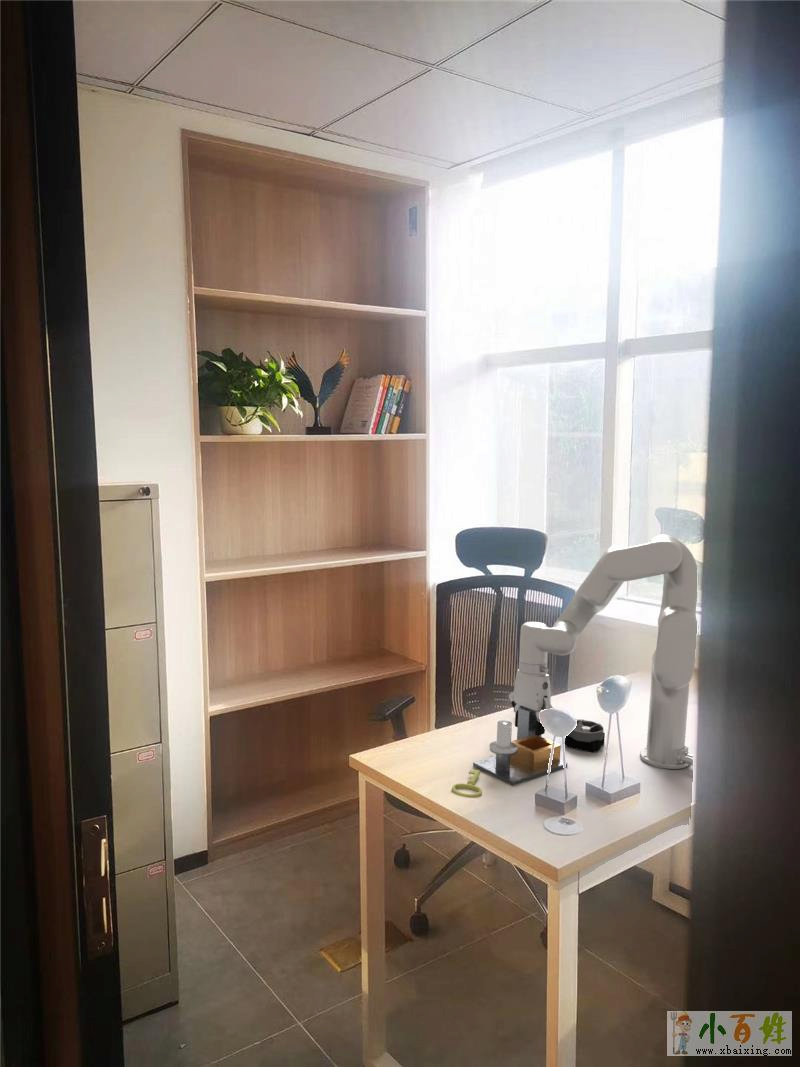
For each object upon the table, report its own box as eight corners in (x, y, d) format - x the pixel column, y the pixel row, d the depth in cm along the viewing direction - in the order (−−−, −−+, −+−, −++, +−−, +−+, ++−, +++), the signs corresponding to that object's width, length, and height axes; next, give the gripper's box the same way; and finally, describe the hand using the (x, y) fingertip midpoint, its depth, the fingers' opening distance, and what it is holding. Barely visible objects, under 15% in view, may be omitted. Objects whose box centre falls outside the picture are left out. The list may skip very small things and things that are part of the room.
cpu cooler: (598, 735, 218) (562, 727, 223) (597, 755, 219) (560, 747, 224) (608, 723, 227) (572, 716, 232) (607, 743, 228) (571, 735, 233)
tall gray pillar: (541, 742, 226) (542, 708, 225) (527, 747, 223) (529, 711, 221) (530, 738, 229) (532, 704, 228) (516, 742, 226) (518, 707, 225)
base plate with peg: (567, 766, 210) (569, 718, 209) (512, 786, 198) (515, 734, 196) (527, 749, 221) (529, 702, 220) (473, 766, 209) (475, 717, 207)
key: (480, 777, 204) (480, 769, 203) (482, 799, 191) (482, 791, 191) (451, 775, 204) (451, 767, 204) (451, 798, 192) (452, 789, 191)
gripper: (566, 673, 219) (562, 737, 221) (519, 658, 232) (516, 718, 235) (547, 677, 214) (544, 743, 216) (500, 662, 228) (497, 723, 230)
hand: (529, 729), depth 226 cm, fingers open, 6 cm apart
